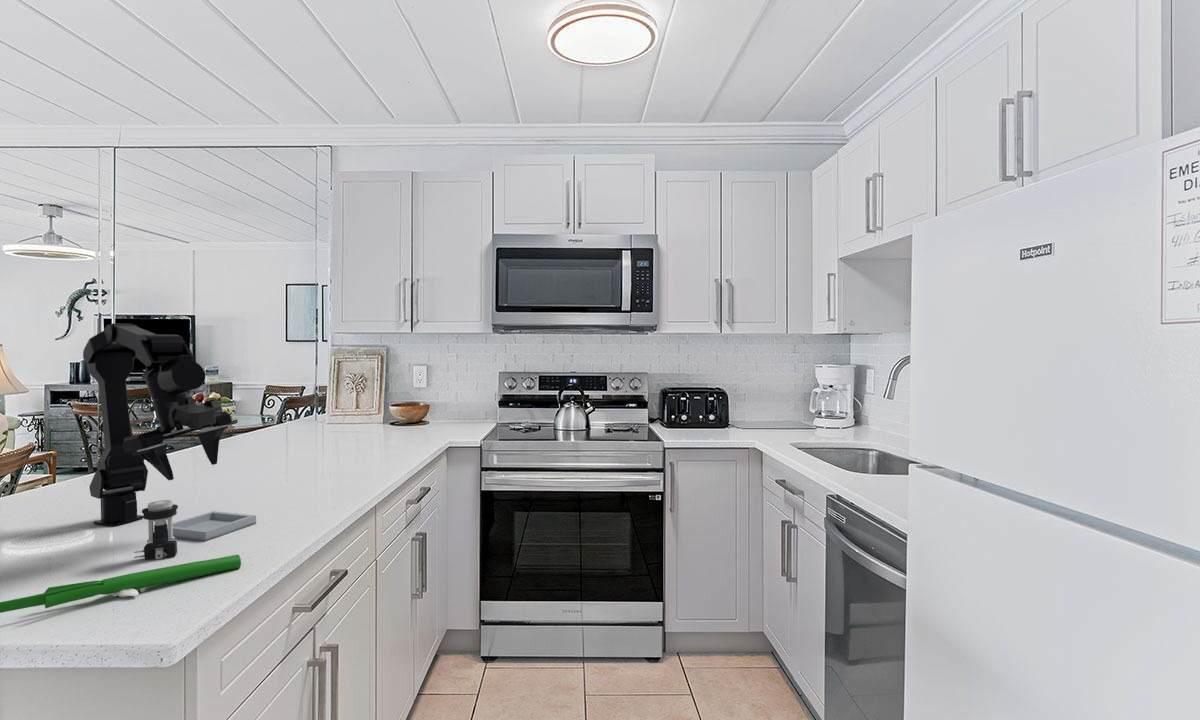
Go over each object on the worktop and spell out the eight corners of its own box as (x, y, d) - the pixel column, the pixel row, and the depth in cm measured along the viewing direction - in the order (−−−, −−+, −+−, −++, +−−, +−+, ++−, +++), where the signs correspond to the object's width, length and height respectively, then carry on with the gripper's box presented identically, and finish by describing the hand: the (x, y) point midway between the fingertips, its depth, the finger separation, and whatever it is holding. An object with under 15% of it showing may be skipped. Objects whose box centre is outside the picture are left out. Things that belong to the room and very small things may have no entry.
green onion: (234, 570, 108) (-5, 617, 86) (234, 551, 108) (-4, 594, 86) (243, 577, 104) (-3, 628, 82) (244, 558, 104) (-2, 604, 82)
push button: (130, 565, 107) (128, 508, 107) (138, 555, 112) (136, 501, 112) (175, 559, 110) (174, 504, 110) (181, 550, 115) (180, 497, 115)
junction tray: (160, 535, 123) (160, 527, 123) (213, 519, 135) (212, 511, 135) (206, 541, 120) (205, 532, 120) (256, 523, 132) (256, 515, 132)
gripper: (148, 400, 108) (175, 483, 110) (239, 379, 126) (261, 451, 127) (108, 411, 112) (135, 491, 114) (202, 389, 130) (224, 459, 131)
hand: (193, 471), depth 121 cm, fingers open, 9 cm apart
